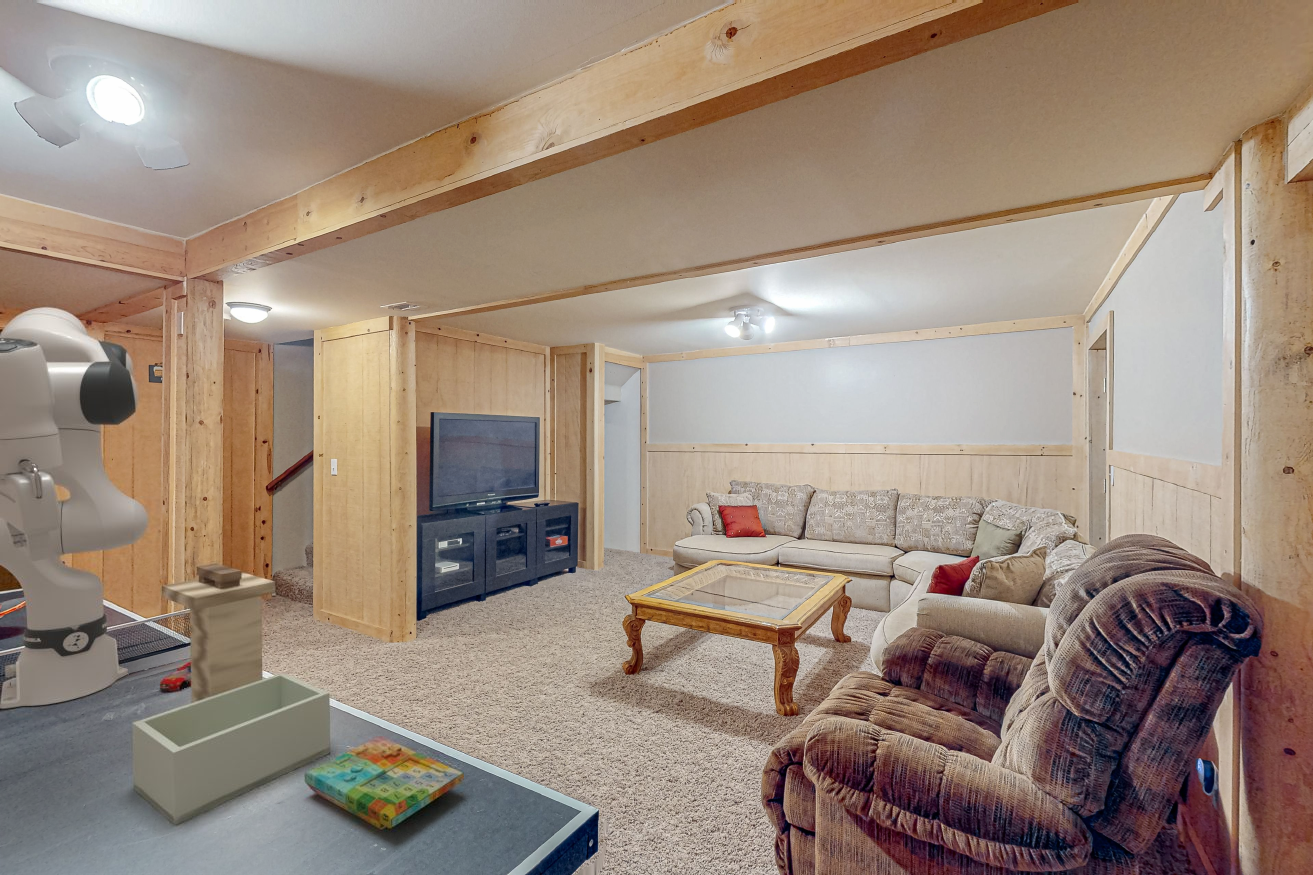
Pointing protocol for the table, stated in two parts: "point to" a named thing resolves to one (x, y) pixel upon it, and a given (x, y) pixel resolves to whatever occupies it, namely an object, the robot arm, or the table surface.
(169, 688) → the race car
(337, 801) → the puzzle game
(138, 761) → the bin
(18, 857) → the table surface
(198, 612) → the stand
